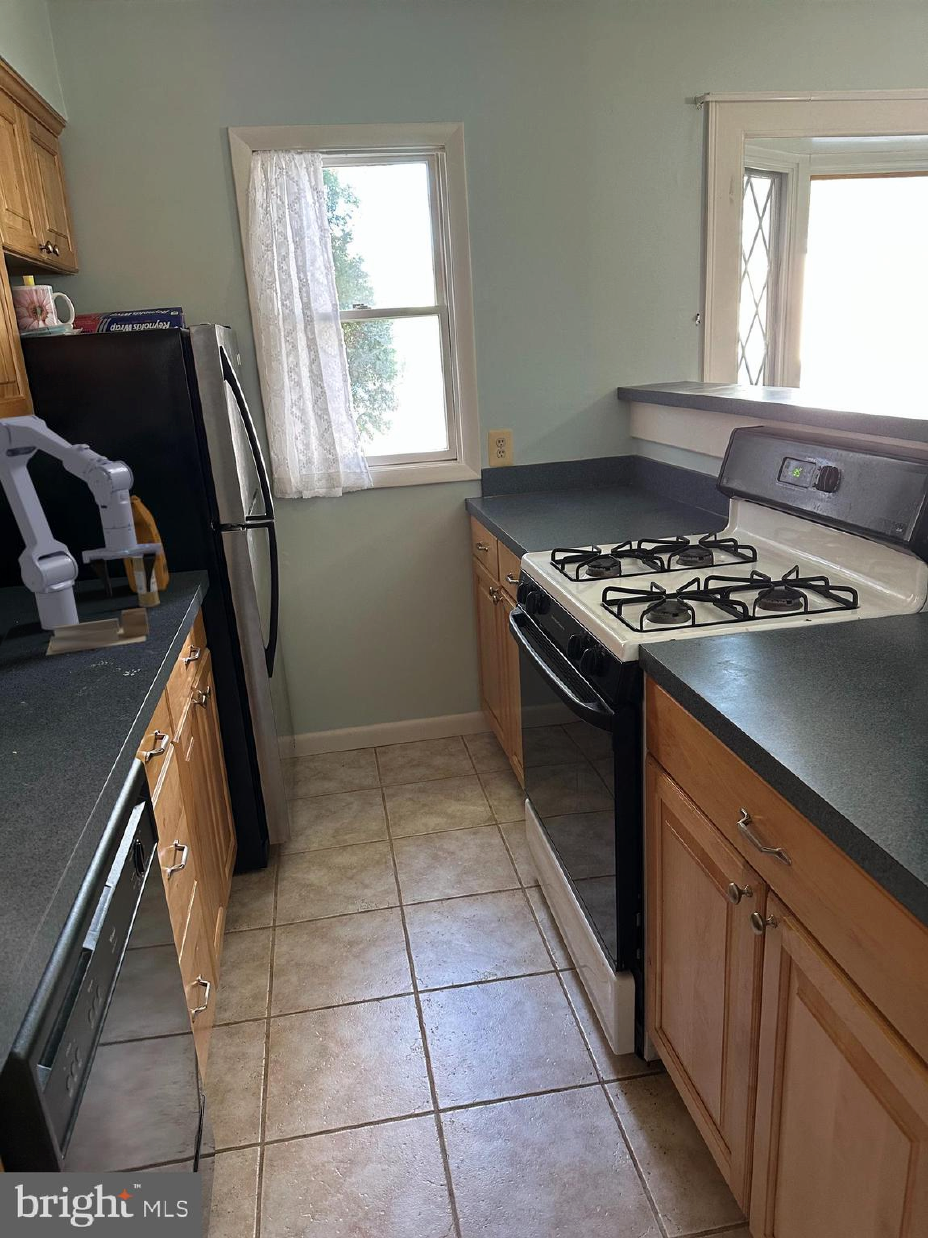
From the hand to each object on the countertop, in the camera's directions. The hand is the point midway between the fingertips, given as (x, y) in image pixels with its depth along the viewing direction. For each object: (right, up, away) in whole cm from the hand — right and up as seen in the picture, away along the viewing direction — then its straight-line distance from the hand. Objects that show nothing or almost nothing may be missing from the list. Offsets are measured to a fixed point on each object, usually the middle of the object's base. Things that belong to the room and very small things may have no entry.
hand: (129, 593), depth 176 cm
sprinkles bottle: (-5, -2, +26) cm, 27 cm away
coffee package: (-11, +3, +43) cm, 44 cm away
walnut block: (+1, -8, +3) cm, 8 cm away
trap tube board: (-6, -10, +1) cm, 12 cm away
